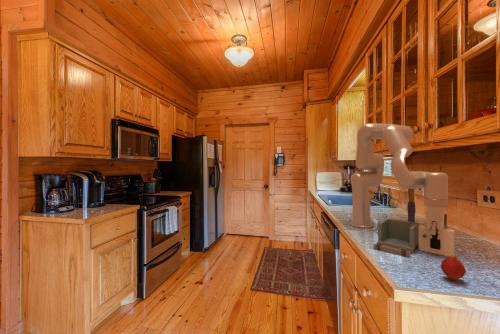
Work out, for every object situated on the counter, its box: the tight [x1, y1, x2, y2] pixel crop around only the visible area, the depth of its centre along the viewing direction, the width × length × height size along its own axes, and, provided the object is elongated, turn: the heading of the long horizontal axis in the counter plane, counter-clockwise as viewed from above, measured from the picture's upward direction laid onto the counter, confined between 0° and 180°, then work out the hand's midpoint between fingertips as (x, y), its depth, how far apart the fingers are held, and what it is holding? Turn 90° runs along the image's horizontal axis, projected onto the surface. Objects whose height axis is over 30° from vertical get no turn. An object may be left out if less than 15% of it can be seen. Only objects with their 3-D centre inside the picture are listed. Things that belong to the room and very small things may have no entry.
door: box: [418, 224, 455, 257], centre depth 94 cm, size 4×11×10 cm, turn 45°
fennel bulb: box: [443, 213, 448, 229], centre depth 115 cm, size 6×5×12 cm
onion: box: [440, 254, 467, 281], centre depth 73 cm, size 6×6×8 cm
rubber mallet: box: [406, 189, 416, 223], centre depth 131 cm, size 12×8×30 cm, turn 139°
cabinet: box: [373, 217, 420, 258], centre depth 101 cm, size 18×13×10 cm
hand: (435, 247), depth 95 cm, fingers closed on door, 3 cm apart
